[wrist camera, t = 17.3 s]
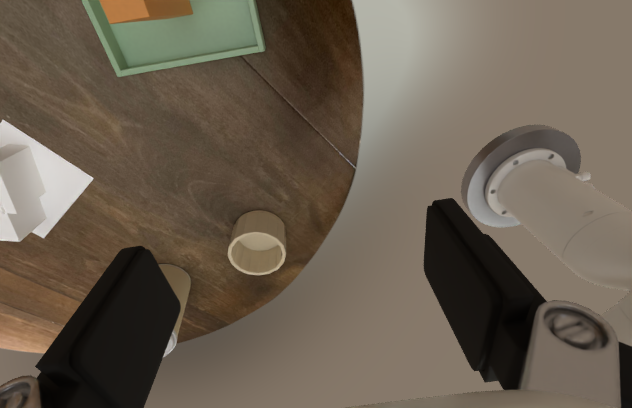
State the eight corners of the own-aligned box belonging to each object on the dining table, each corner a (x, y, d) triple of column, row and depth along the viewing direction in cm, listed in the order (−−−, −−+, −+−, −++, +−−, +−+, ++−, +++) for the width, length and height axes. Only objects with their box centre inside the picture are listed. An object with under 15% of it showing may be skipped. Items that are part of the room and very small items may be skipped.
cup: (279, 206, 46) (278, 228, 42) (290, 246, 51) (290, 270, 46) (227, 214, 47) (220, 237, 42) (242, 254, 51) (237, 279, 46)
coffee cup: (130, 262, 50) (90, 325, 40) (188, 257, 51) (163, 319, 41) (149, 300, 55) (118, 365, 45) (201, 295, 56) (182, 359, 46)
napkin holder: (1, 118, 37) (-43, 134, 32) (94, 177, 42) (69, 199, 37) (-44, 193, 42) (-87, 218, 37) (45, 239, 47) (16, 265, 42)
